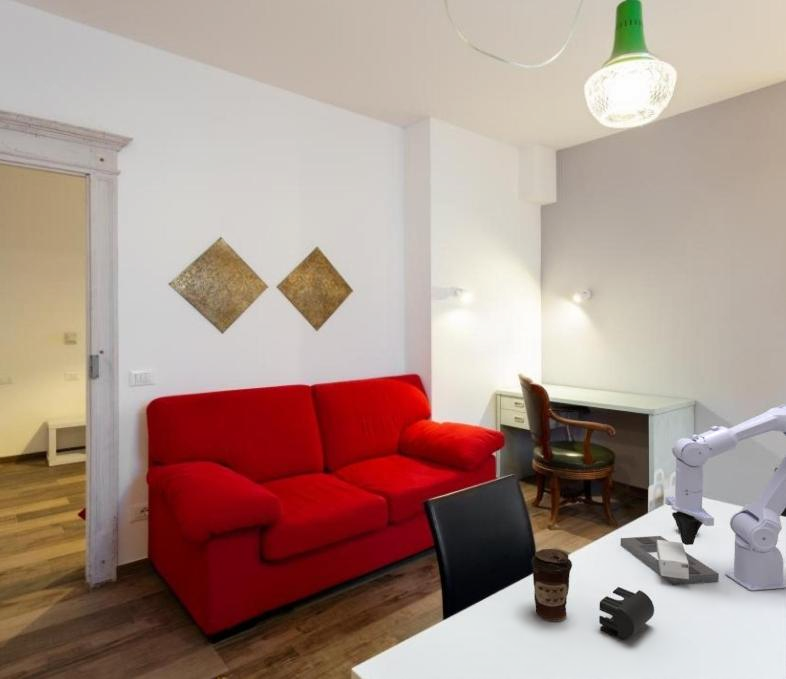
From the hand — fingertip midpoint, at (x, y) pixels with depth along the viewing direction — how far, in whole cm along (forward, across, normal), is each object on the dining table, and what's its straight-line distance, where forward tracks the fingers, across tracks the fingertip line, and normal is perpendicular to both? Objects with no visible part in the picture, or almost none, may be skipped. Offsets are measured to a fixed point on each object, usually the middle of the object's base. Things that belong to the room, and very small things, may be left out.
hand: (687, 543), depth 126 cm
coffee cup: (+9, +11, -40) cm, 42 cm away
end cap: (+9, +18, -27) cm, 34 cm away
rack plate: (+8, -8, 0) cm, 12 cm away
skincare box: (+4, -7, 0) cm, 8 cm away
